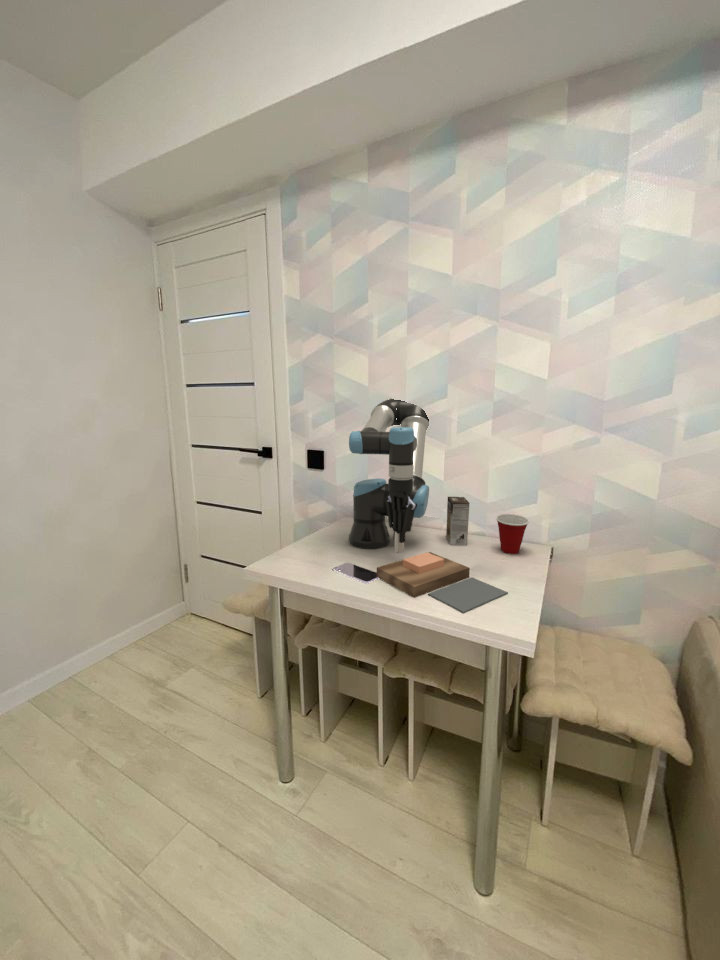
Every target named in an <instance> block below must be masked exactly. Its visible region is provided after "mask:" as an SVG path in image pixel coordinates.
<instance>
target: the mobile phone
mask: <svg viewBox="0 0 720 960" xmlns="http://www.w3.org/2000/svg"><path fill="white" fill-rule="evenodd" d="M332 568H333V569H335V570H336V571H338V572H341V573H343V574H346V575H347V576H350V577H352V578H355V579H357V580H359V581H358V582H360V581H362V582H361V583H363V582H364V583H363V584H366V583H368V584H370V583H369V582H371V581H373V582H375V581H376V580H375V579H377V580H379V579H378V578H379V577H378V576H377V571H373V570H371V569H368V568H365V567H362V566H359V565H356V564H353V563H351V562H344V563H342V564H339V565H337V566H335V567H332ZM347 576H346V577H347ZM350 577H349V578H350ZM352 578H351V579H352ZM355 579H354V580H355ZM357 580H356V581H357ZM374 580H375V581H374ZM371 583H372V582H371Z"/></svg>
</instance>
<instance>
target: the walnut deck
mask: <svg viewBox="0 0 720 960" xmlns="http://www.w3.org/2000/svg"><path fill="white" fill-rule="evenodd" d="M427 553H430V554H432V555H435V556H437V557H440V558H442V559H444V566H441V567H438V568H435V569H432V570H429V571H426V572H423V573H420V574H419V573H417V572H415V571H413V570H411V569H408V568H406V567H404V566H403V559H401V560H398V561H395V562H391V563H386V564H384V565H381V566H377V567H376V573H377V576H378V577H379V578H380V579H379V580H381V579H382V581H383V580H384V581H383V582H385V583H387V584H388V583H389V585H390V584H391V585H390V586H393V587H394V588H396V589H398V590H399V589H400V590H399V591H402V592H403V593H404V594H407V595H408V596H411V597H412V598H417V597H420V596H422V595H426V594H428V593H431V592H434V591H436V590H439V589H442V588H444V587H447V586H450V585H452V584H455V583H458V582H461V581H463V580H466V579H469V578H470V569H471V567H468V566H466V565H463V564H461V563H459V562H456V561H454V560H451V559H450V558H446V557H444V556H442V555H438V554H436V553H433V552H432V551H428V552H427Z"/></svg>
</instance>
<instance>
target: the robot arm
mask: <svg viewBox="0 0 720 960" xmlns="http://www.w3.org/2000/svg"><path fill="white" fill-rule="evenodd" d="M396 408H397V410H396ZM396 418H397V420H396ZM400 424H401V426H393V425H400ZM428 426H429V419H428V417H427V415H426V413H425V411H424V410H423V409H422V408H421V407H420V406H417V405H414V404H411V403H407V402H405V401H401V400H394V399H392V398H389V400H388V399H386V400H383V401H382V402H379V403H378V404H377V405H376V406H375V407H373V409H372V411H371V413H370V417H369V419H368V421H367V422H366V423H365V425H364V427H363V428H362V429H361V430H355V431H354V430H353V431H351V432H350V433H349V437H348V448H349V451H350V452H351V453H352V454H358V455H387V456H388V477H389V478H388V483H387V480H386V479H385V478H369V479H365V480H364V479H363V480H360V481H358V482H356V483H355V484H354V486H353V495H352V497H353V523H352V526H351V529H350V533H349V535H348V543H349V545H350V546H352V547H355V548H358V549H365V550H366V549H368V550H369V549H370V550H374V549H382V548H385V547H387V546H388V545H390V543H391V539H390V538H391V537H390V536H391V535H390V532H389V530H388V527H389V528H390V529H392V531H393V540H394V547H393V549H394V552H395V553H397V554H399V553H403V552H405V543H406V533H407V532H411V531H412V530H411V529H412V526H413V521H414V518H416V519H417V518H419V519H420V518H422V517H424V516H425V514H426V511H427V508H428V504H429V496H430V487H429V485H427V484H426V481H425V479H424V478H423V469H424V459H425V458H424V456H425V446H426V445H425V443H426V434H427V433H426V430H427V428H428ZM390 427H391V428H390ZM388 428H389V431H387V429H388ZM386 517H387V519H388V520H387V521H388V526H387V523H386Z"/></svg>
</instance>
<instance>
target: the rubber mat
mask: <svg viewBox="0 0 720 960" xmlns="http://www.w3.org/2000/svg"><path fill="white" fill-rule="evenodd" d="M508 594H509V592H508V591H506V590H503V589H501V588H498V587H496V586H495V585H491V584H490V583H487V582H484V581H482V580H479V579H477V578H475V577H469V578H466V579H463V580H461V581H458V582H455V583H453V584H450V585H447V586H444V587H442V588H439V589H436V590H434V591H431V592H428V593H427V596H428V597H431V598H433V599H435V600H437V601H439V602H441V603H443V604H444V605H446V606H448V607H450V608H452V609H455V610H456V611H458V612H460V613H462V614H465V613H467V612H470V611H473V610H475V609H477V608H479V607H481V606H483V605H486V604H489V603H490V602H493V601H495V600H496V599H499V598H503V597H504V596H506V595H508Z"/></svg>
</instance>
